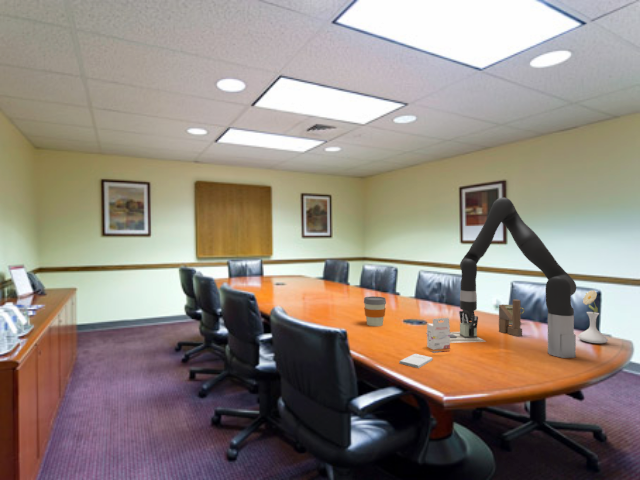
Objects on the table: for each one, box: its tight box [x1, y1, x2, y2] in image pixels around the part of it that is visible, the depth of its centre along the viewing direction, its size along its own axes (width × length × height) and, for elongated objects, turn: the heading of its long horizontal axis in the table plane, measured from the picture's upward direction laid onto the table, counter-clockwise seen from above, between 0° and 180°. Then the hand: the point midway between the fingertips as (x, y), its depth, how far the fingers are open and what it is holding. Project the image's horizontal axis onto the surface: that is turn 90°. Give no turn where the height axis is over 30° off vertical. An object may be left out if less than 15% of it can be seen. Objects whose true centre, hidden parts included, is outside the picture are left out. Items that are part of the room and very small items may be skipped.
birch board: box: [425, 331, 487, 344], centre depth 177 cm, size 18×22×2 cm
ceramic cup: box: [503, 304, 525, 326], centre depth 211 cm, size 13×10×10 cm
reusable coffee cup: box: [363, 296, 387, 327], centre depth 210 cm, size 13×13×15 cm
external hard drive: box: [398, 353, 434, 369], centre depth 147 cm, size 2×8×12 cm
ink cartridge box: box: [426, 317, 451, 354], centre depth 161 cm, size 9×5×15 cm, turn 105°
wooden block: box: [498, 298, 523, 337], centre depth 189 cm, size 4×11×18 cm, turn 28°
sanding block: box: [459, 322, 478, 338], centre depth 178 cm, size 5×6×6 cm
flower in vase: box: [578, 289, 609, 344], centre depth 173 cm, size 13×11×25 cm
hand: (468, 334), depth 178 cm, fingers closed on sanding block, 5 cm apart
